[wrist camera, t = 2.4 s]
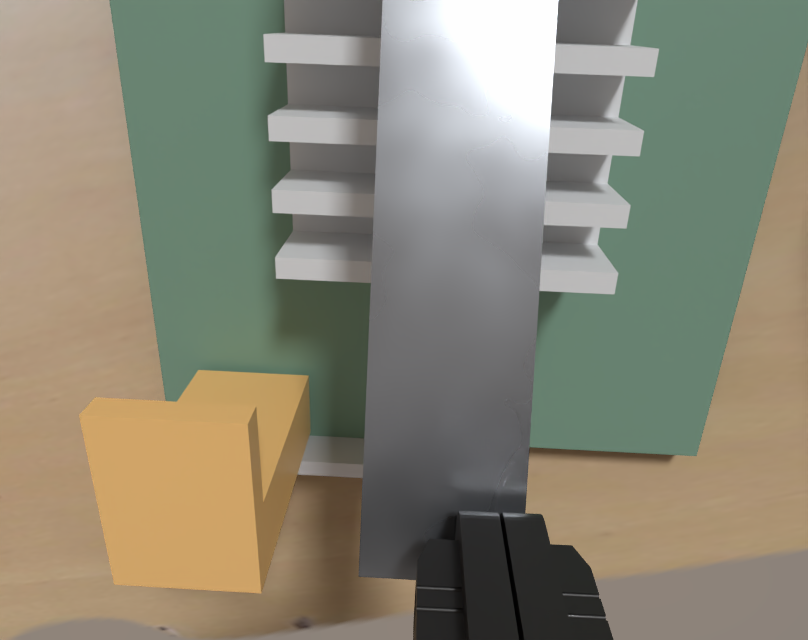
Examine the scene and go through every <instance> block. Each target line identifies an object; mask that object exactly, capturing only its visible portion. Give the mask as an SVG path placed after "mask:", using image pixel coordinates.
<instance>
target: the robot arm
mask: <svg viewBox="0 0 808 640" xmlns="http://www.w3.org/2000/svg"><path fill="white" fill-rule="evenodd" d="M605 616H606V615H605V612H604V609H603V606H602V602H601V599H599V592H598V589H597V586H596V583H595V580H594V577H593V573H592V570H591V568H590V566H589V565H588V564H587V563H586V562H585V560H584V559H583V558H582V557H581V556H580V554H579V553H578V552H577V551H576V550H575V548H574V547H573V546H571V545H550V541H549V537H548V533H547V529H546V525H545V521H544V518H543V516H542V515H541V514H526V513H505V512H501V514H500V516H499V513H498V512H480V511H458V513H457V521H456V533H455V540H443V539H429V540H428V542H427V544H426V545H425V547H424V549H423V551H422V552H421V554H420V556H419V558H418V559H417V572H416V589H415V607H414V627H413V640H613V637H612V634H611V631H610V627H609V624H608V621H606V618H605Z"/></svg>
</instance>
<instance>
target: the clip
mask: <svg viewBox="0 0 808 640" xmlns="http://www.w3.org/2000/svg"><path fill="white" fill-rule="evenodd" d="M79 417H80V422H81V427H82V432H83V437H84V441H85V446H86V451H87V456H88V461H89V465H90V470H91V475H92V480H93V485H94V490H95V494H96V499H97V504H98V509H99V514H100V518H101V523H102V528H103V533H104V538H105V543H106V547H107V552H108V557H109V562H110V567H111V571H112V576H113V581H114V585H130V586H147V587H163V588H180V589H197V590H214V591H230V592H247V593H262V589H263V586H264V583H265V579H266V576H267V573H268V570H269V566H270V563H271V560H272V556H273V553H274V550H275V547H276V543H277V540H278V537H279V533H280V530H281V527H282V524H283V520H284V517H285V514H286V510H287V507H288V504H289V501H290V497H291V494H292V491H293V487H294V484H295V481H296V478H297V474H298V471H299V468H300V464H301V461H302V458H303V455H304V451H305V448H306V445H307V441H308V438H309V435H310V432H311V429H310V398H309V375H289V374H269V373H250V372H230V371H210V370H198V371H197V373H196V374H195V376H194V377H193V379H192V380H191V382H190V383H189V385H188V386H187V387H186V389H185V390H184V392H183V393H182V395H181V396H180V398H179V399H178V401H177V402H172V401H153V400H134V399H115V398H96V397H95V398H94V399H93V400H92V402H91V403H90V404H89V405H88V406H87V407H86V408H85V409H84V410H83V412H82V413H81V414H80V415H79Z"/></svg>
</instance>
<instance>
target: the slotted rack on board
mask: <svg viewBox="0 0 808 640" xmlns="http://www.w3.org/2000/svg"><path fill="white" fill-rule="evenodd" d="M382 1H383V0H110V7H111V14H112V22H113V29H114V36H115V43H116V50H117V57H118V64H119V71H120V79H121V86H122V93H123V100H124V107H125V114H126V121H127V129H128V136H129V143H130V150H131V157H132V164H133V171H134V178H135V186H136V193H137V200H138V207H139V214H140V221H141V228H142V235H143V243H144V250H145V257H146V264H147V271H148V278H149V285H150V292H151V300H152V307H153V314H154V321H155V328H156V335H157V342H158V349H159V357H160V364H161V371H162V378H163V385H164V392H165V399H166V401H172V402H177V401H178V399H179V398H180V396H181V395H182V393H183V392H184V390H185V389H186V387H187V386H188V385H189V383H190V382H191V380H192V379H193V377H194V376H195V374H196V373H197V371H198V370H210V371H230V372H250V373H269V374H289V375H309V398H310V429H311V432H310V435H309V438H308V441H307V445H306V448H305V451H304V455H303V458H302V461H301V464H300V468H299V471H298V474H297V475H315V476H334V477H352V478H363V460H364V436H365V412H366V388H367V364H368V339H369V315H370V291H371V267H372V243H373V219H374V195H375V170H376V146H377V122H378V98H379V74H380V50H381V25H382ZM807 43H808V0H558V9H557V24H556V40H555V55H554V71H553V87H552V102H551V118H550V134H549V149H548V165H547V180H546V196H545V212H544V227H543V243H542V258H541V274H540V290H539V305H538V321H537V336H536V352H535V368H534V383H533V399H532V414H531V430H530V446H529V447H535V448H554V449H572V450H591V451H610V452H629V453H648V454H667V455H685V456H697V452H698V448H699V444H700V441H701V437H702V433H703V430H704V426H705V422H706V418H707V415H708V411H709V407H710V404H711V400H712V396H713V392H714V389H715V385H716V381H717V378H718V374H719V370H720V366H721V363H722V359H723V355H724V352H725V348H726V344H727V341H728V337H729V333H730V329H731V326H732V322H733V318H734V315H735V311H736V307H737V303H738V300H739V296H740V292H741V289H742V285H743V281H744V277H745V274H746V270H747V266H748V263H749V259H750V255H751V251H752V248H753V244H754V240H755V237H756V233H757V229H758V225H759V222H760V218H761V214H762V211H763V207H764V203H765V199H766V196H767V192H768V188H769V185H770V181H771V177H772V173H773V170H774V166H775V162H776V159H777V155H778V151H779V147H780V144H781V140H782V136H783V133H784V129H785V125H786V121H787V118H788V114H789V110H790V107H791V103H792V99H793V95H794V92H795V88H796V84H797V81H798V77H799V73H800V69H801V66H802V62H803V58H804V55H805V51H806V47H807Z"/></svg>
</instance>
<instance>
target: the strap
mask: <svg viewBox="0 0 808 640" xmlns="http://www.w3.org/2000/svg"><path fill="white" fill-rule="evenodd" d="M557 9H558V0H383V1H382V25H381V50H380V74H379V98H378V122H377V146H376V170H375V195H374V219H373V243H372V267H371V291H370V315H369V339H368V364H367V388H366V412H365V436H364V460H363V484H362V509H361V533H360V557H359V577H374V578H391V579H408V580H416V572H417V559H418V558H419V556H420V554H421V552H422V551H423V549H424V547H425V545H426V544H427V542H428V540H429V539H443V540H455V533H456V521H457V513H458V511H480V512H498V513H499V516H500V514H501V512H505V513H525V508H526V492H527V477H528V461H529V446H530V430H531V414H532V399H533V383H534V368H535V352H536V336H537V321H538V305H539V290H540V274H541V258H542V243H543V227H544V212H545V196H546V180H547V165H548V149H549V134H550V118H551V102H552V87H553V71H554V55H555V40H556V24H557Z"/></svg>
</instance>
